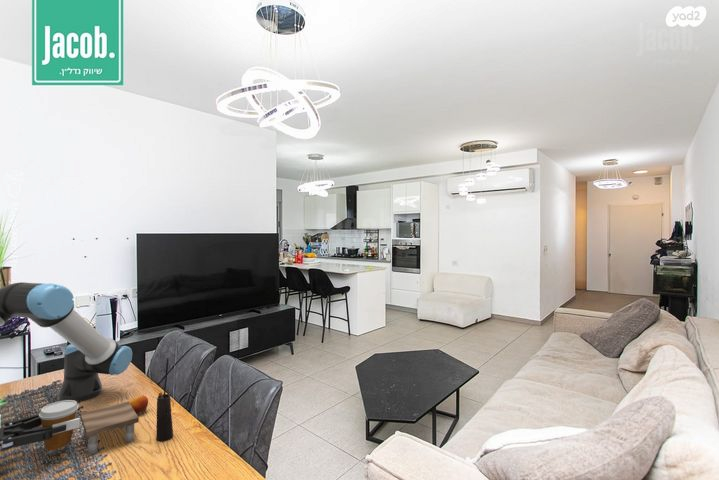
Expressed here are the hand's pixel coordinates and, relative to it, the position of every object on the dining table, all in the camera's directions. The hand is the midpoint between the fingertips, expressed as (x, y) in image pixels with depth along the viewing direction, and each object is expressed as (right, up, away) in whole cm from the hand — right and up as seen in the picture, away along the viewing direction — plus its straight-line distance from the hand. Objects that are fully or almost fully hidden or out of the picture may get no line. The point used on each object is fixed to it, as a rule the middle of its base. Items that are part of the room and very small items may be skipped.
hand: (78, 417), depth 113 cm
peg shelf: (+6, -10, +6) cm, 13 cm away
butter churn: (+23, -11, +8) cm, 27 cm away
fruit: (+4, -11, +24) cm, 26 cm away
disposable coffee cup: (-4, -7, -3) cm, 9 cm away
